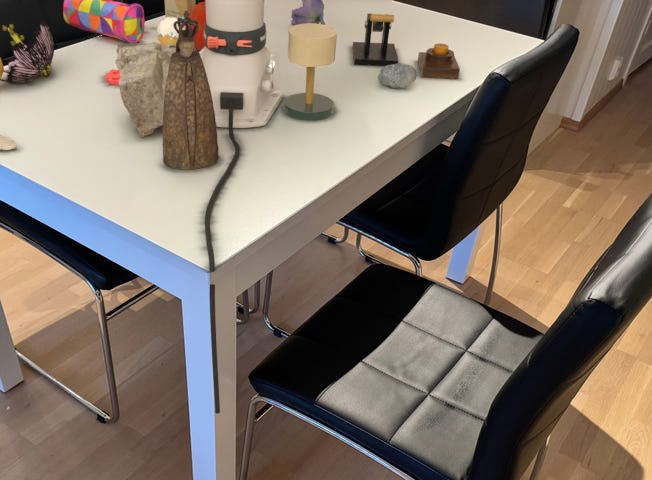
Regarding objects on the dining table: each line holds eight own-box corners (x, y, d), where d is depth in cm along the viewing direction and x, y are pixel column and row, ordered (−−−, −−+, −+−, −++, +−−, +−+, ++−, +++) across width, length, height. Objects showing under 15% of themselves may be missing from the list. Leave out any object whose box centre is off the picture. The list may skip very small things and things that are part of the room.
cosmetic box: (166, 41, 165) (161, -16, 156) (175, 35, 168) (170, -20, 159) (189, 45, 163) (186, -12, 155) (198, 39, 166) (195, -16, 158)
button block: (457, 79, 152) (461, 60, 149) (422, 77, 152) (425, 58, 149) (451, 63, 160) (455, 45, 157) (417, 61, 160) (420, 43, 157)
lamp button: (448, 56, 152) (449, 48, 151) (433, 56, 152) (435, 47, 151) (446, 51, 155) (447, 43, 153) (432, 51, 155) (433, 43, 153)
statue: (188, 177, 115) (177, 17, 98) (158, 163, 118) (141, 6, 101) (224, 160, 120) (219, 5, 103) (194, 147, 123) (184, -5, 106)
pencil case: (61, -20, 163) (90, -12, 170) (56, 22, 167) (85, 28, 174) (126, 0, 154) (153, 7, 162) (119, 44, 158) (147, 49, 165)
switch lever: (393, 24, 147) (394, 11, 147) (370, 23, 147) (371, 10, 147) (387, 32, 158) (388, 20, 157) (366, 31, 158) (366, 19, 157)
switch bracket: (397, 66, 157) (403, 25, 151) (354, 64, 157) (357, 23, 151) (393, 49, 166) (398, 9, 160) (352, 47, 166) (356, 8, 160)
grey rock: (416, 87, 148) (416, 62, 146) (418, 87, 145) (418, 61, 143) (377, 89, 149) (377, 65, 147) (378, 90, 146) (378, 64, 144)
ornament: (150, 42, 155) (157, 5, 154) (160, 51, 162) (166, 16, 161) (179, 48, 155) (186, 11, 153) (187, 57, 162) (193, 22, 160)
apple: (180, 52, 158) (176, 2, 151) (204, 39, 166) (202, -9, 158) (220, 61, 155) (218, 10, 148) (243, 47, 162) (243, -2, 155)
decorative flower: (71, 57, 137) (70, 36, 148) (20, 12, 130) (23, -6, 141) (27, 110, 141) (29, 86, 152) (-25, 69, 134) (-19, 47, 145)
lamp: (333, 121, 133) (340, 40, 123) (282, 119, 133) (284, 38, 123) (333, 101, 141) (339, 23, 130) (284, 99, 141) (287, 21, 130)
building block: (105, 86, 143) (106, 72, 148) (144, 85, 144) (144, 71, 150) (104, 82, 142) (106, 68, 148) (143, 81, 143) (143, 67, 149)
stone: (88, 44, 122) (127, 74, 114) (172, 30, 130) (214, 57, 122) (98, 115, 131) (134, 147, 123) (175, 98, 139) (215, 127, 131)
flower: (344, 3, 170) (311, -21, 169) (327, 26, 167) (293, 1, 166) (333, 28, 178) (301, 5, 178) (316, 50, 176) (284, 27, 175)
